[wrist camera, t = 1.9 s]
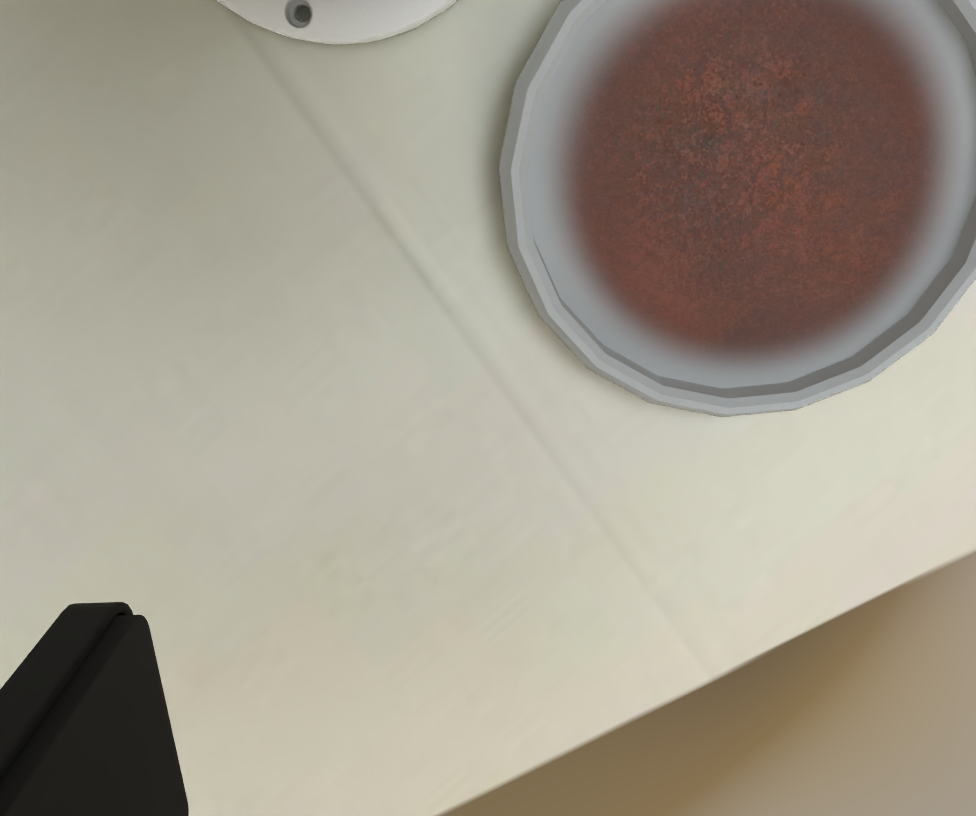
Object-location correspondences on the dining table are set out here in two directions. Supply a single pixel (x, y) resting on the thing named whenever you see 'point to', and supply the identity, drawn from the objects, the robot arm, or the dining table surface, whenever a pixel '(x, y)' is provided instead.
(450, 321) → the dining table surface
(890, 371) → the dining table surface
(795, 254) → the frying pan
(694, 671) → the dining table surface
